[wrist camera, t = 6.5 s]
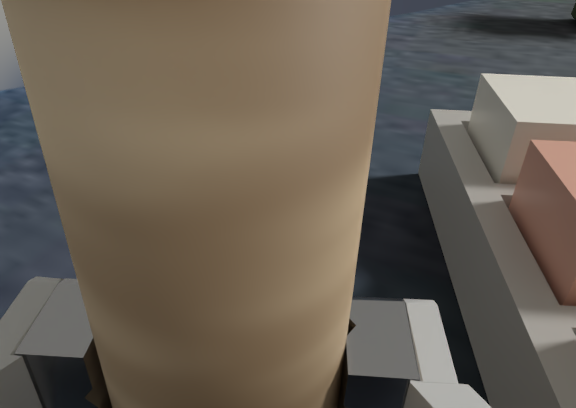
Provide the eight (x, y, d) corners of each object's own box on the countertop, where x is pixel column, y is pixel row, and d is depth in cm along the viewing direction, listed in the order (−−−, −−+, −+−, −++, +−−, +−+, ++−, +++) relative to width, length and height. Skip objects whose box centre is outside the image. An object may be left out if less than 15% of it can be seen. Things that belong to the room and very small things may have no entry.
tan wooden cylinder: (140, 647, 11) (-132, -55, 3) (180, 473, 14) (84, -95, 6) (315, 662, 10) (434, -33, 3) (317, 483, 13) (380, -85, 6)
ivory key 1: (497, 188, 20) (517, 121, 18) (467, 131, 24) (481, 73, 22) (629, 195, 20) (660, 128, 18) (575, 136, 24) (597, 78, 22)
